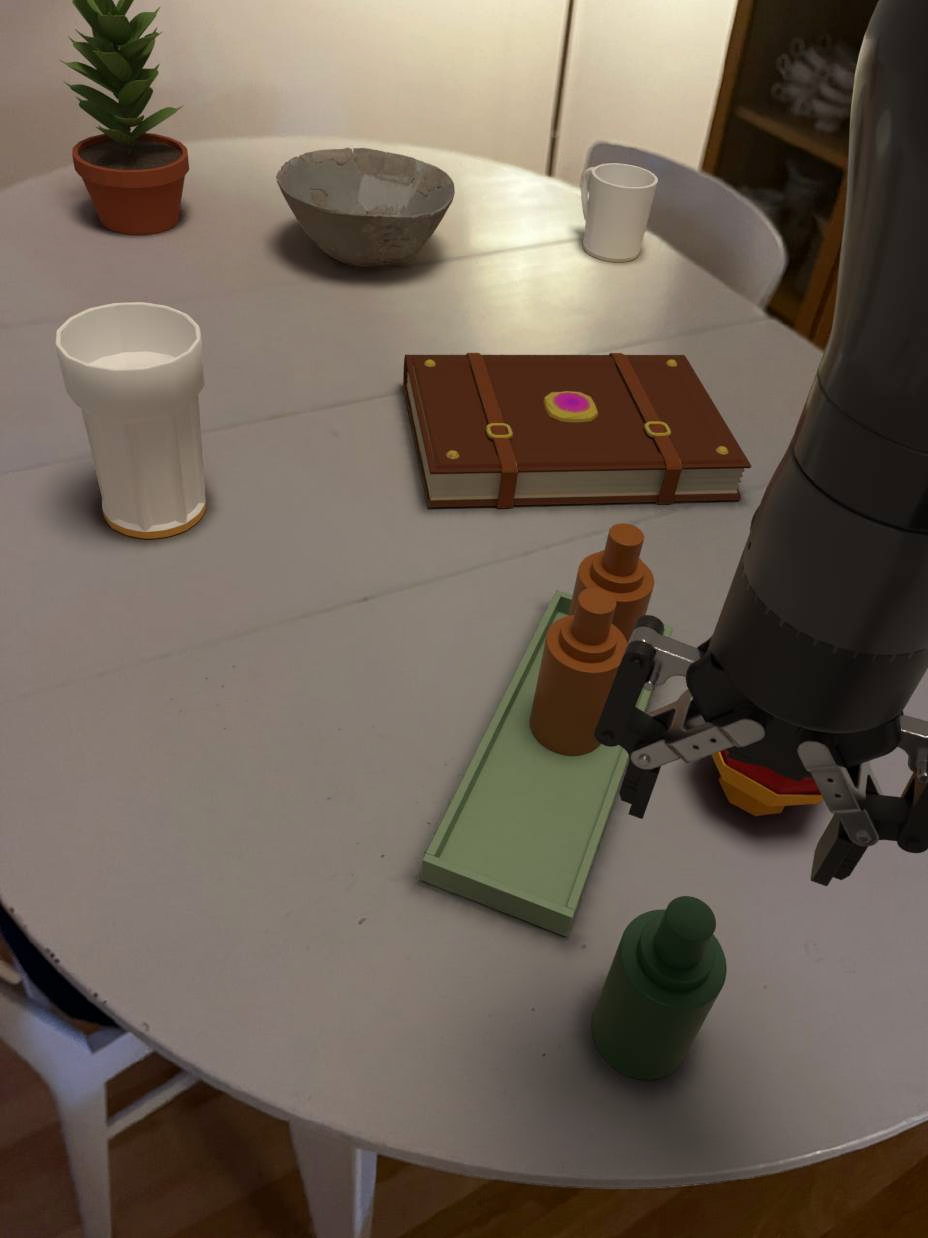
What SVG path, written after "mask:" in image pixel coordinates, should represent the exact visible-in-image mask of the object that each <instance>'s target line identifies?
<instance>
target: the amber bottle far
mask: <svg viewBox="0 0 928 1238" xmlns="http://www.w3.org/2000/svg"><path fill="white" fill-rule="evenodd" d="M644 540H645V534H644V532H643V531H642V529H640V528H639V527H638V526H636V525H634V524H630V523H623V522H621V523H615V524H614V525H612V526H611V527H610V528H609V530H608V534H607V538H606V542H605V546H604V549H603V550H600V551H597V552H593V553H592V554H589V555H588V556H585V558H583V559H582V561H581V562H580V563H579V566H578V569H577V573H576V578H575V581H574V582H575V583H574V587H573V592H572V595H573V596H572V601H571V606H570V610H569V615H568V616H570V615H574V614H575V609H576V605H577V600H578V596H579V594H580V593H581V592H582V591H583V590H585V589H588V588H600V589H603V590H606V591H608V592H609V593H611V594H612V595H613V596H614V598H615V600H616V608H615V612H614V616H613V620H612V624H613V625H614V626H616V627H617V628H618V629H619V630H620V631H621V632H622V633H623V635H624V636H625V638H626V640H627V644H628V642H629V639H630V637H631V634H632V632H633V629H634V627H635V624H636V621H637V620H638V618H640V617H641V616H644V615H647V611H648V607H649V604H650V602H651V601H650V600H651V597H652V594H653V592H654V591H653V590H654V587H655V577H654V574H653V572H652V570H651V569H650V567H649V566H648V565H647V564H646V563H645V562H644V561H643V560H642V558H640V556H641V552H642V549H643V545H644Z"/></svg>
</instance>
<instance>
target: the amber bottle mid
mask: <svg viewBox="0 0 928 1238" xmlns="http://www.w3.org/2000/svg"><path fill="white" fill-rule="evenodd" d="M615 608H616V600H615V598H614V596H613V595H612V594H611V593H609V592H608V591H606V590H603V589H600V588H588V589H585V590H583V591H582V592H581V593H580V594H579V596H578V600H577V605H576V609H575V614H574V615H570V616H566V617H563V618H561V619H559V620H557V621H556V622H554V623H553V624H552V625H551V626H550V628H549V630H548V632H547V635H546V640H545V645H544V650H543V655H542V660H541V665H540V670H539V675H538V680H537V685H536V690H535V695H534V701H533V706H532V711H531V716H530V728H531V731H532V734H533V735H534V737H535V738H536V740H537V741H538V742H539V743H540V744H541V745H542V746H544V747H545V748H547V749H549V750H550V751H553V752H555V753H558V754H561V755H567V756H578V755H584V754H587V753H590V752H592V751H593V750H595V749H596V748H597V747H598V746H599V745H600V744H601V743H599V742H598V741H597V740H596V738H595V736H594V732H595V729H596V727H597V724H598V721H599V719H600V716H601V713H602V711H603V708H604V705H605V703H606V700H607V697H608V695H609V692H610V689H611V687H612V684H613V681H614V679H615V676H616V673H617V671H618V668H619V665H620V663H621V660H622V657H623V655H624V652H625V650H626V647H627V645H628V644H627V640H626V638H625V636H624V635H623V633H622V632H621V631H620V630H619V629H618V628H617V627H616V626H614V625H613V624H612V620H613V616H614V612H615Z"/></svg>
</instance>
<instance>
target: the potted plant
mask: <svg viewBox="0 0 928 1238" xmlns="http://www.w3.org/2000/svg"><path fill="white" fill-rule="evenodd" d="M134 1H135V0H118V1H117V3H116V4H115V1H114V0H71V3H72V5H73V6H74V7H75V8H76V10H77V11H78V13H79V14H80V15H81V17H82V18H83V19H84V20H85V21H86V23H87V24H88V25H89V26H90V28H91V33H92V36H90V35H89V36H88V35H85V34H83V33H82V32H81V31H79V30H78V29H76V28H74V30H75V32H77V34H78V35H79V36H80V37H81V38H83V39H84V41H76V40H74V39H73V38H72V37H70V36H69V35H67V37H68V38H69V40H70V41H71V43H72V46H73V47H74V49H76V50H77V51H78V52H79V54H80V55H82V57H84V58H85V60H87V61H88V62H89V64H91V66H90V65H88V64H86V63H83V62H79V61H70V62H65V61H64V60H62V59H59V58H58V60H57V61H60V62H61V63H63V64H64V65H66V66H67V67H68V68H70V69H72V70H73V71H75V72H77V73H79V74H80V75H82V76H83V77H85V78H87V79H89V80H91V81H92V82H94V83H96V84H97V85H99V86H100V87H103V88H104V89H105V90H107V91H109V92H111V93H112V94H113V96H114V97H115V99H116V100H118V101H116V100H115V99H113V98H112V97H110V96H108V95H107V94H105V93H104V92H102V91H100V90H98V89H96V88H94V87H92V86H89V85H86V84H80V83H79V84H70V83H68V82H66V81H62V83H64V84H65V85H66V86H68V87H69V88H70V90H71V91H73V92H74V93H76V94H78V95H79V96H81V97H82V98H84V99H82V98H80V97H77V96H74V97H75V98H76V99H77V100H78V102H79V103H78V107H79V108H80V109H81V110H82V111H83V112H85V113H87V114H88V115H89V116H91V117H92V118H93V119H94V120H96V121H97V122H99V123H100V124H101V125H103V126H104V127H105V128H104V127H102V126H100V125H97V126H95V128H96V129H97V130H99V131H100V132H101V134H97V135H92V136H88V137H86V138H84V139H82V140H80V141H78V142H77V143H76V144H75V145H74V146H72V149H71V150H72V151H71V157H72V163H73V167H74V168H73V169H74V171H75V172H76V174H77V175H78V176H79V177H81V179H82V182H83V184H84V187H85V189H86V191H87V193H88V196H89V198H90V201H91V203H92V205H93V207H94V210H95V213H96V214H97V216H98V217H97V218H98V219H99V221H100V223H101V224H102V225H103V227H104V228H106V229H108V230H110V231H112V232H115V233H119V234H125V235H133V236H139V235H141V236H146V235H147V236H148V235H153V234H159V233H162V232H166V231H169V230H170V229H172V228H173V227H176V225H177V223H178V222H179V217H180V210H181V205H182V199H183V192H184V185H185V179H186V175H187V174H188V173H189V171H190V162H189V153H188V152H189V151H188V148H187V146H186V145H184V144H183V143H182V142H180V141H179V140H176V139H174V138H172V137H170V136H166V135H162V134H157V133H151V132H149V131H150V130H152V129H154V128H155V127H157V126H158V125H159V124H161V123H163V122H164V121H166V120H167V119H169V118H170V117H172V116H173V115H175V114H176V113H177V112H178V111H179V110H180V109H182V108H183V107H184V104H183V105H181V106H179V107H173V106H169V107H168V106H166V107H164V108H161V109H159V110H158V111H156V112H154V113H152V114H150V115H149V116H148V117H146V118H145V115H144V114H142V113H143V112H144V110H145V109H146V107H147V105H148V103H149V102H150V100H151V98H152V97H153V93H154V89H153V88H152V87H151V85H152V84H153V83H154V81H155V79H156V78H157V77H158V75H159V73H160V72H159V70H158V69H159V67H160V65H161V63H160V62H159V63H158V64H157V65H156V66H155V67H154V68H145V65H146V63H147V62H148V60H149V58H150V55H151V54H152V52H153V49H154V47H155V44H156V38H157V37H159V36H160V35H161V34H163V31H160V32H157V30H158V26H156V27H155V29H154V30H153V31H152V32H151V33H148V34H145V35H144V36H143V34H144V32H145V31H146V30H147V29H148V27H150V25H151V24H152V23H153V22H154V20H155V19H156V17H157V15H158V12H159V11H160V9H161V6H159V7H158V8H157V9H156V10H155V11H142V12H139V13H137V14H135V16H134V17H133V18H131V20H130V21H129V19H128V17H127V16H126V15H127V14H128V11H129V9H130V8H131V6H132V4H133V3H134ZM142 36H143V37H142ZM141 114H142V115H141ZM132 128H134V129H132Z"/></svg>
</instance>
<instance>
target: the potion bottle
mask: <svg viewBox="0 0 928 1238" xmlns="http://www.w3.org/2000/svg"><path fill="white" fill-rule="evenodd" d="M727 755H728V752H727V751H726V750H722V751H720V752H717V753H714V754H712V755H711V757H712V759H713V761H714V764H715V766H716V768H717V770H718V772H719V775H720V777H719V778H718V782H719V784H720V786H721V788H722V790H723V792H724V794H725V797H726V798H727V801H728V803H730V804H731V805H733V806H736V807H738V808H739V809H741V810H743V811H745V812H747V813H749V814H750V815H752V816H754V817H760V816H767V815H775V814H781V813H782V812H783V810H784V809H785V807H786V806H800V805H801V806H802V805H815V804H816V805H817V804H819V803H821V802H823V801H824V799H823V797H822V795H821V793H820V791H819V789H818V787H817V785H816V783H815V781H814V779H813V778H803V779H802V781H801V782H798V781H795V780H792V779H789V778H786V777H784V776H781V775H779V774H778V773H776V772H774V771H772V770H770V769H769V768H767V767H764V766H759V765H753V764H747V763H743V762H740V761H737V760H734V759H731V758H728V757H727Z"/></svg>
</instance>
